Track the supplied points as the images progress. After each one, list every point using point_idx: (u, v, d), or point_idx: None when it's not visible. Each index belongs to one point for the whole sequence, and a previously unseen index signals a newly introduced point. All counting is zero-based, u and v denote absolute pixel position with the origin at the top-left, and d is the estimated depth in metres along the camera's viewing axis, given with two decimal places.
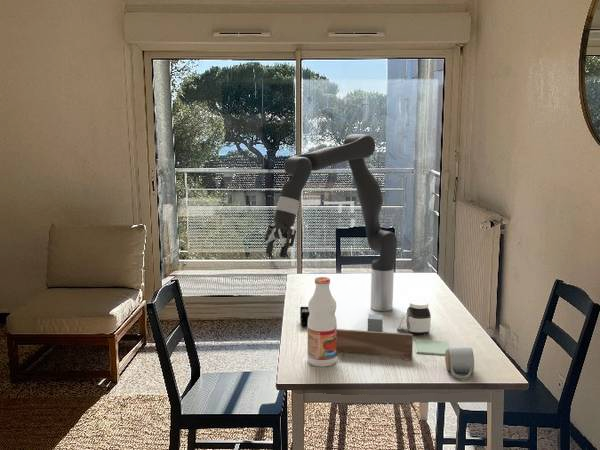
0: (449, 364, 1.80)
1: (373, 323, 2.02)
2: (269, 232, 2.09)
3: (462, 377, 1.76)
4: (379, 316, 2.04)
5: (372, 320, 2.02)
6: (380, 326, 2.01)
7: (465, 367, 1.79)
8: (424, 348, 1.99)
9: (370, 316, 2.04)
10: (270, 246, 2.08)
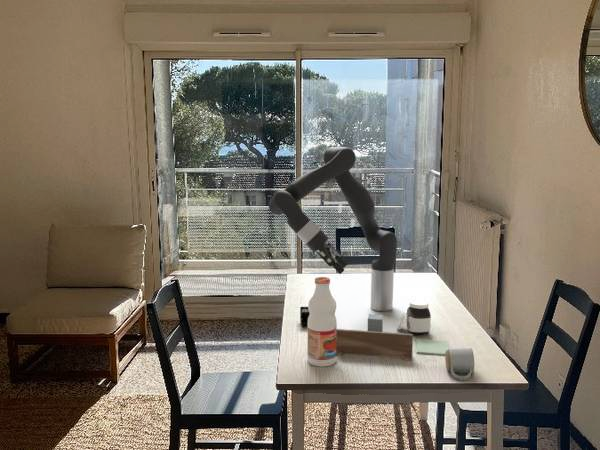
0: (449, 364, 1.79)
1: (373, 323, 2.02)
2: None
3: (462, 377, 1.76)
4: (379, 316, 2.04)
5: (372, 320, 2.02)
6: (380, 326, 2.01)
7: (465, 368, 1.78)
8: (424, 348, 1.99)
9: (370, 316, 2.04)
10: (339, 261, 2.10)
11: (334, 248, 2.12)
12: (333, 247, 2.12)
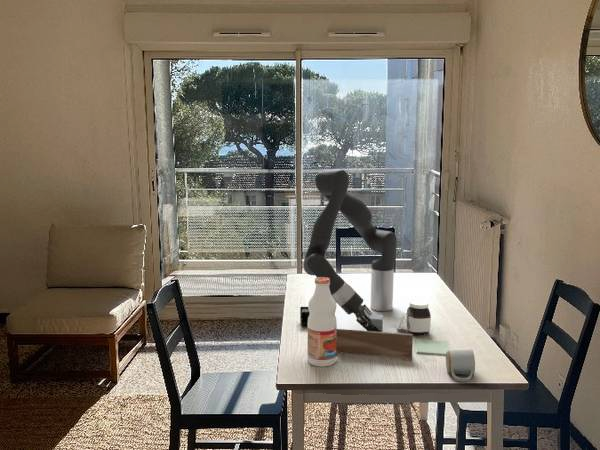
0: (450, 366, 1.78)
1: (373, 323, 2.02)
2: None
3: (462, 379, 1.75)
4: (379, 316, 2.04)
5: (372, 320, 2.02)
6: (380, 326, 2.01)
7: (466, 369, 1.77)
8: (424, 348, 1.99)
9: (370, 316, 2.04)
10: None
11: (369, 311, 2.09)
12: (368, 309, 2.09)
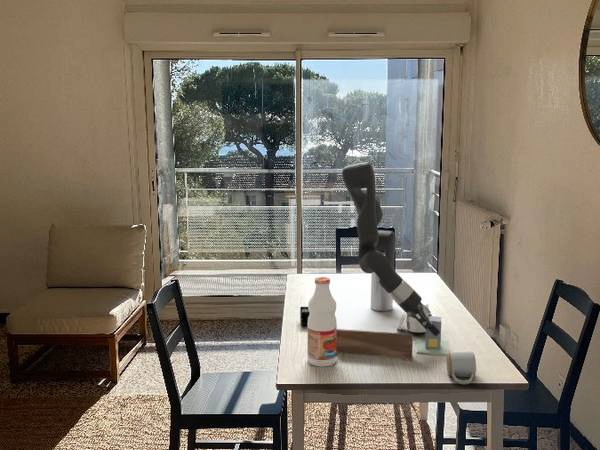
0: (451, 368, 1.76)
1: None
2: None
3: (463, 381, 1.73)
4: (437, 318, 2.00)
5: None
6: (439, 328, 1.97)
7: (467, 372, 1.76)
8: (424, 348, 1.99)
9: None
10: None
11: None
12: None
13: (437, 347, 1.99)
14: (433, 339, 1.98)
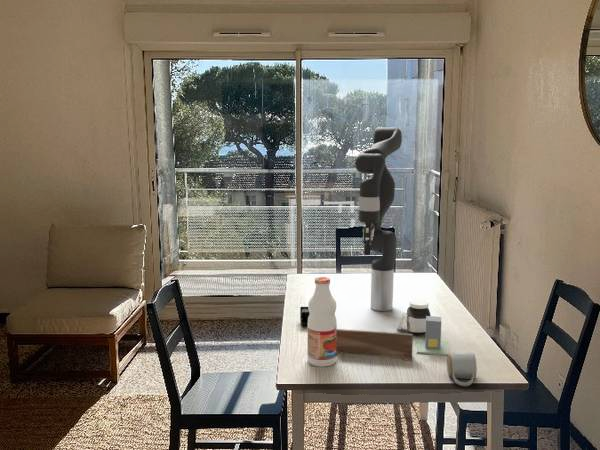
0: (451, 370, 1.75)
1: (432, 325, 1.98)
2: None
3: (464, 383, 1.72)
4: (437, 318, 2.00)
5: (431, 322, 1.98)
6: (439, 328, 1.97)
7: (467, 373, 1.74)
8: (424, 348, 1.99)
9: (428, 318, 2.00)
10: None
11: None
12: None
13: (437, 347, 1.99)
14: (433, 339, 1.98)
